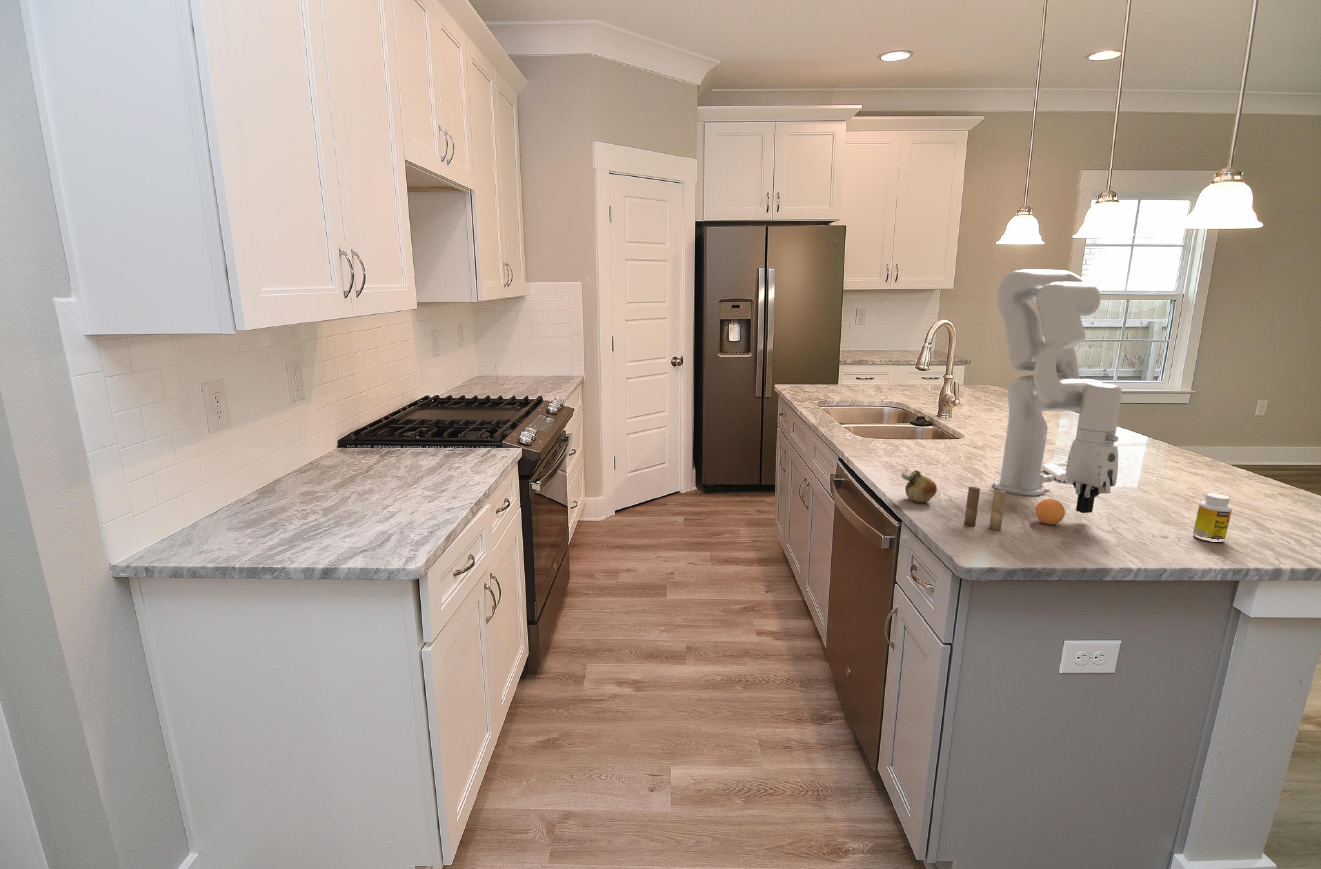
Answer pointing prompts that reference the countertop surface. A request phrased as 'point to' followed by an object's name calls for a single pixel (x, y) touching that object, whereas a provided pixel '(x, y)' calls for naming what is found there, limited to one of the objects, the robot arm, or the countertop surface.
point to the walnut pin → (972, 506)
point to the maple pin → (997, 510)
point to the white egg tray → (1056, 469)
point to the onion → (919, 487)
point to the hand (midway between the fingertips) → (1083, 511)
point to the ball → (1050, 511)
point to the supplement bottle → (1213, 517)
